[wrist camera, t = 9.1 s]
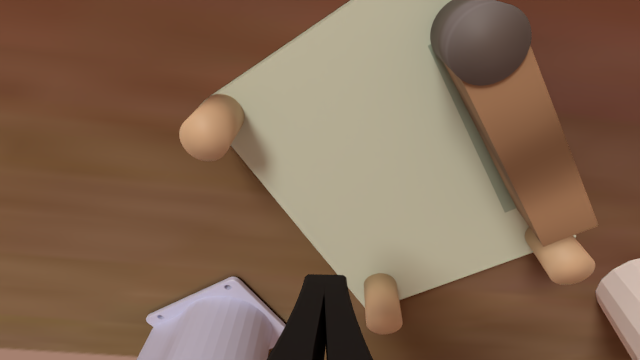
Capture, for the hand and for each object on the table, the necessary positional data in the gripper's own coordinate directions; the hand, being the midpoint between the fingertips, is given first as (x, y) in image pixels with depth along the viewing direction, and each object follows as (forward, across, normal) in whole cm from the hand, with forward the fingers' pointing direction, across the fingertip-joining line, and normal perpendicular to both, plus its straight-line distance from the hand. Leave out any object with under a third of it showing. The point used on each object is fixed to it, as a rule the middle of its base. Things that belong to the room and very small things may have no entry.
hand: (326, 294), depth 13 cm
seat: (+10, -4, 0) cm, 11 cm away
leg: (+8, -8, -3) cm, 12 cm away
